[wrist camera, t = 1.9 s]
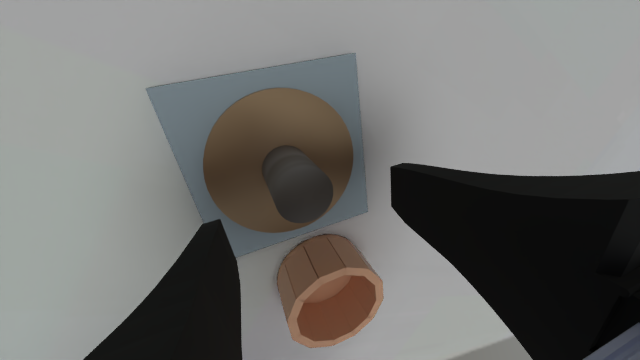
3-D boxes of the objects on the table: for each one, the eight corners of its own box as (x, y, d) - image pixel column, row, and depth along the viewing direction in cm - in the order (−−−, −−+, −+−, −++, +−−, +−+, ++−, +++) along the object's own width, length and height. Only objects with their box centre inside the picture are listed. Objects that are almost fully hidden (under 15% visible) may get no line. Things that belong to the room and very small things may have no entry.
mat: (364, 208, 20) (367, 211, 19) (220, 258, 17) (220, 262, 17) (351, 53, 15) (355, 52, 14) (148, 87, 12) (145, 88, 12)
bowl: (360, 283, 23) (384, 320, 20) (287, 314, 21) (299, 361, 18) (353, 222, 20) (381, 253, 17) (267, 252, 18) (278, 294, 15)
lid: (355, 204, 19) (391, 239, 15) (232, 246, 16) (235, 302, 12) (341, 74, 15) (385, 75, 11) (176, 106, 12) (155, 122, 8)
